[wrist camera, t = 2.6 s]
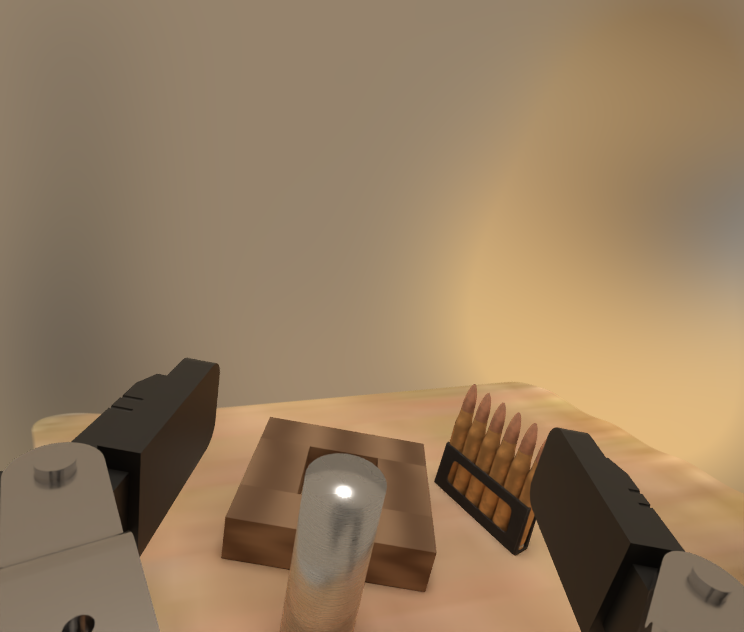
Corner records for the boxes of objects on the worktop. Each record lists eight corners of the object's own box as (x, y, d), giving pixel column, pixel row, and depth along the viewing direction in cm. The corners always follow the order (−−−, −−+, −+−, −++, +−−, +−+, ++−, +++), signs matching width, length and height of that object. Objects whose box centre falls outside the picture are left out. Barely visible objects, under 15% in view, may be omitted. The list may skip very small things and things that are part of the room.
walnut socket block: (415, 475, 50) (423, 443, 49) (424, 591, 37) (436, 552, 35) (266, 449, 50) (270, 416, 48) (221, 557, 36) (225, 517, 35)
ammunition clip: (527, 549, 43) (569, 438, 39) (514, 556, 42) (556, 443, 38) (446, 476, 51) (474, 378, 47) (433, 481, 50) (461, 381, 46)
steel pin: (349, 625, 33) (387, 460, 29) (343, 696, 29) (386, 516, 24) (284, 614, 33) (312, 447, 28) (268, 684, 29) (298, 501, 24)
